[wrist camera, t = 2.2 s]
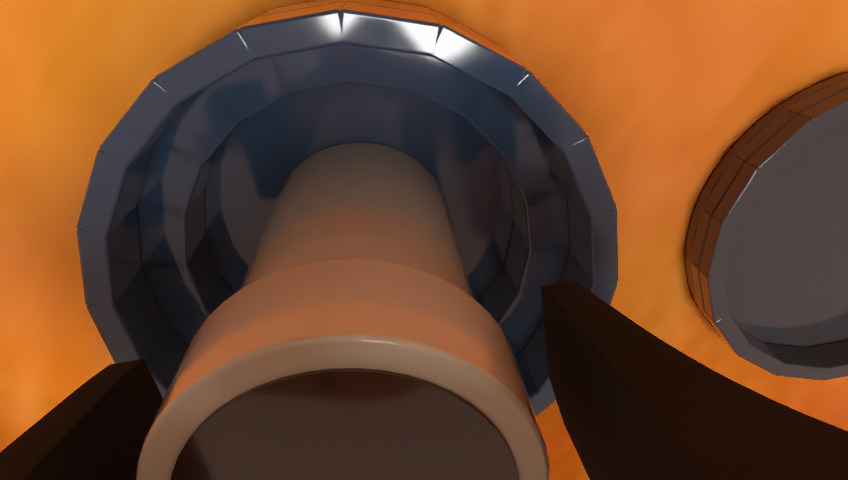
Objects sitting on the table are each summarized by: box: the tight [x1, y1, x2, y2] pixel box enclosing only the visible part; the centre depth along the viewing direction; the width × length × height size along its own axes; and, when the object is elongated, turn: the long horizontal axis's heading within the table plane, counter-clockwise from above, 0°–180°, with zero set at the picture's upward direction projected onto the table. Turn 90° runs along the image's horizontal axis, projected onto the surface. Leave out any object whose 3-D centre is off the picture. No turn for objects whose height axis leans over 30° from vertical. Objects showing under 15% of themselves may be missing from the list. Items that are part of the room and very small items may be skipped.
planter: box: [77, 0, 618, 416], centre depth 15 cm, size 12×12×4 cm
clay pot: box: [136, 142, 549, 480], centre depth 12 cm, size 6×6×9 cm
